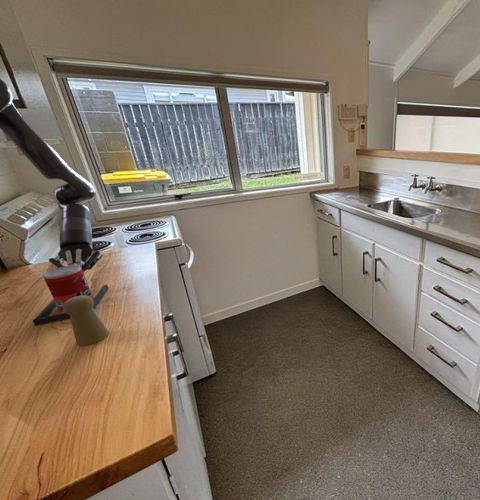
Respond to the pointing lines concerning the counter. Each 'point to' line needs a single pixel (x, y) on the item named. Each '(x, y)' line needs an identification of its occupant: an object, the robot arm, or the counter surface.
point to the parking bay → (45, 318)
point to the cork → (85, 320)
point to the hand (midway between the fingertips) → (77, 283)
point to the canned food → (66, 284)
